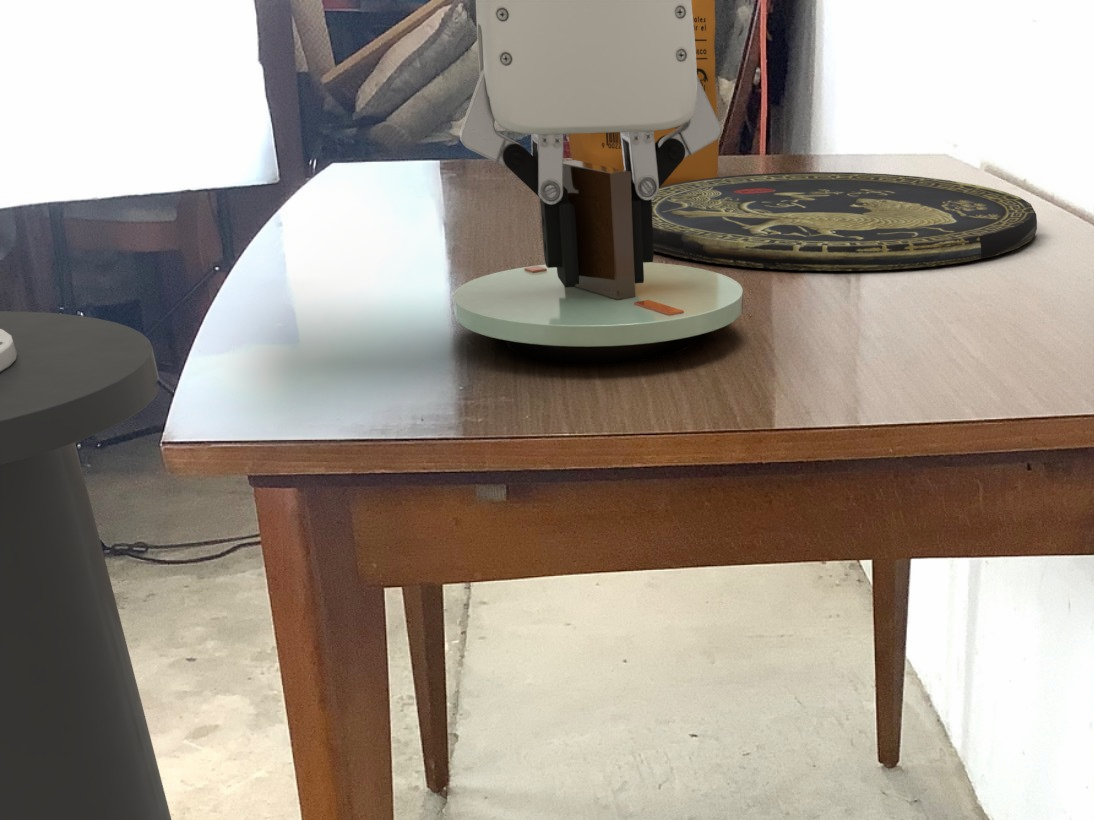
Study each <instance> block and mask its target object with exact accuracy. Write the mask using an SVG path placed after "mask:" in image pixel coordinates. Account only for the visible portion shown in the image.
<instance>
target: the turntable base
mask: <svg viewBox="0 0 1094 820" xmlns="http://www.w3.org/2000/svg"><path fill="white" fill-rule="evenodd" d="M696 338H697V335H696V336H692V337H687V338H682V339H676V340H670V341H663V342H656V343H647V344H636V345H622V346H595V347H579V346H550V345H538V344H528V343H520V342H513V341H507V340H505V342H506V345H507V346H508V347H509V348H510V349H511V350H512V351H514V352H516V353H517V354H519V355H523V356H525V357H529V358H533V359H537V360H542V361H548V362H555V363H565V364H580V365H581V364H582V365H583V364H585V365H586V364H588V365H598V364H599V365H601V364H602V365H603V364H605V365H607V364H622V363H633V362H641V361H645V360H653V359H657V358H662V357H666V356H669V355H672V354H676V353H679V352H681V351H683V350H686V349H687V348H689V347H691V345H693V344H694V343H695V340H696Z"/></svg>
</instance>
